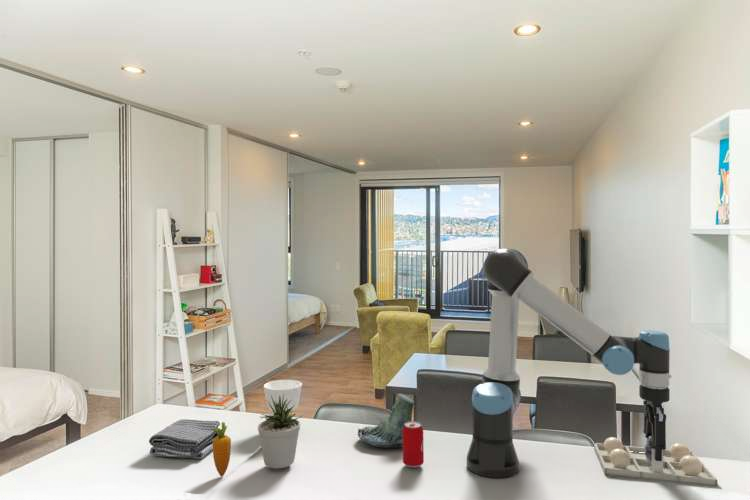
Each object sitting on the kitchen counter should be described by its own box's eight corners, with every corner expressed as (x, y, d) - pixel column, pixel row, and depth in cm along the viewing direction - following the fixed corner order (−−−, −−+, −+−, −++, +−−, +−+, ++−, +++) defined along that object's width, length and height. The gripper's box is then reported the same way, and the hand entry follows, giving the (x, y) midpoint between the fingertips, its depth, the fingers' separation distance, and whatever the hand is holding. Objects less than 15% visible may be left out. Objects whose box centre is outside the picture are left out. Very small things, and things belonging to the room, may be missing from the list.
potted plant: (311, 461, 150) (311, 395, 150) (274, 476, 140) (274, 406, 140) (286, 449, 158) (286, 387, 158) (249, 463, 148) (249, 397, 148)
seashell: (668, 474, 138) (668, 438, 138) (647, 472, 139) (647, 436, 139) (661, 465, 143) (661, 431, 143) (641, 464, 144) (641, 430, 144)
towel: (176, 439, 169) (176, 416, 169) (225, 442, 165) (225, 419, 165) (147, 457, 154) (147, 432, 154) (200, 462, 150) (200, 436, 150)
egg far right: (672, 464, 145) (672, 446, 145) (667, 457, 151) (666, 439, 151) (693, 466, 144) (693, 448, 144) (686, 458, 149) (686, 441, 149)
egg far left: (605, 457, 150) (605, 440, 150) (602, 450, 155) (602, 433, 155) (625, 459, 149) (625, 441, 149) (621, 452, 154) (621, 435, 154)
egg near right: (683, 478, 137) (682, 458, 137) (676, 469, 142) (676, 451, 142) (705, 480, 135) (705, 461, 135) (698, 472, 140) (697, 453, 140)
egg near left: (611, 470, 141) (611, 451, 141) (607, 462, 147) (607, 444, 147) (632, 472, 140) (632, 454, 140) (627, 464, 145) (627, 446, 145)
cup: (257, 434, 172) (257, 389, 172) (272, 420, 185) (271, 378, 185) (295, 436, 170) (294, 390, 170) (307, 422, 183) (306, 380, 183)
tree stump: (360, 424, 178) (380, 379, 179) (411, 449, 176) (431, 403, 176) (352, 439, 160) (374, 389, 161) (408, 468, 157) (431, 416, 158)
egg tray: (604, 474, 140) (604, 467, 140) (594, 448, 158) (593, 442, 158) (717, 487, 132) (717, 479, 132) (692, 458, 151) (692, 451, 151)
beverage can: (426, 461, 149) (426, 422, 149) (419, 470, 143) (419, 429, 143) (407, 458, 152) (406, 419, 152) (399, 466, 146) (399, 426, 146)
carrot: (220, 482, 136) (220, 428, 136) (208, 477, 139) (208, 424, 139) (234, 475, 141) (234, 422, 141) (222, 471, 143) (222, 419, 143)
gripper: (679, 395, 131) (679, 482, 131) (659, 378, 149) (659, 455, 149) (648, 393, 133) (648, 479, 133) (632, 376, 151) (632, 452, 151)
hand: (654, 466), depth 141 cm, fingers closed on seashell, 5 cm apart
